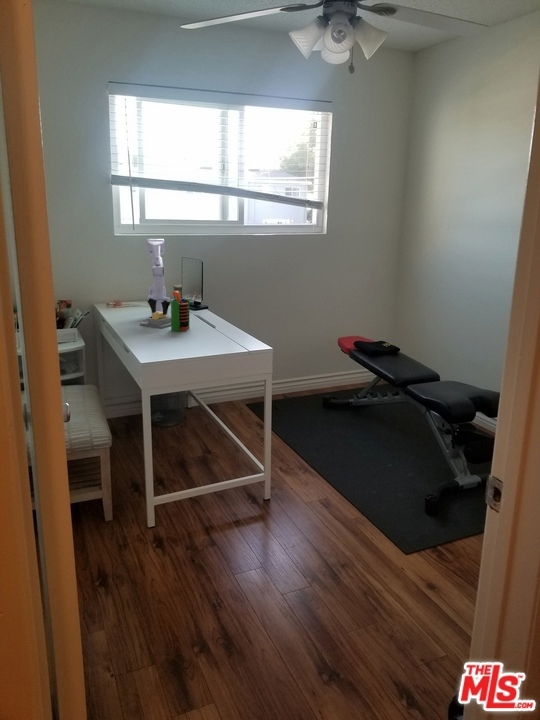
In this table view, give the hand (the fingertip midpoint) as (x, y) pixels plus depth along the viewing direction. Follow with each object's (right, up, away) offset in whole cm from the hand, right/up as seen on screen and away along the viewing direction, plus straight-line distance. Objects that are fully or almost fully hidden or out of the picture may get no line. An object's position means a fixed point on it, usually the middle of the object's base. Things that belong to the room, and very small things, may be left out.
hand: (159, 313), depth 292 cm
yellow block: (0, -5, +1) cm, 5 cm away
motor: (+13, -9, -10) cm, 19 cm away
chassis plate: (0, -6, +2) cm, 6 cm away
